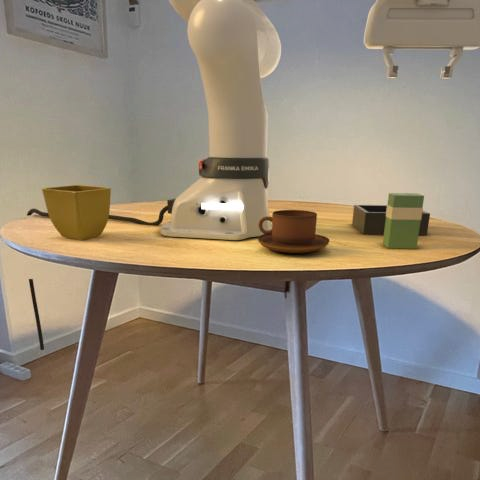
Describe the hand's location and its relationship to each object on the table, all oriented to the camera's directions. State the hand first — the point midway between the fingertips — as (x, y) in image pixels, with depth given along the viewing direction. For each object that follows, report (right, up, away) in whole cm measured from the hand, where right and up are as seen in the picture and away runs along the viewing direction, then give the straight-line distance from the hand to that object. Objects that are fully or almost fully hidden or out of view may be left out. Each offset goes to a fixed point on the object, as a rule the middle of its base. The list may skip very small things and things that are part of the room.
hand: (418, 77), depth 83 cm
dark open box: (-1, -24, +16) cm, 29 cm away
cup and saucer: (-23, -31, -3) cm, 39 cm away
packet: (-3, -30, 0) cm, 30 cm away
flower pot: (-61, -27, +5) cm, 67 cm away
